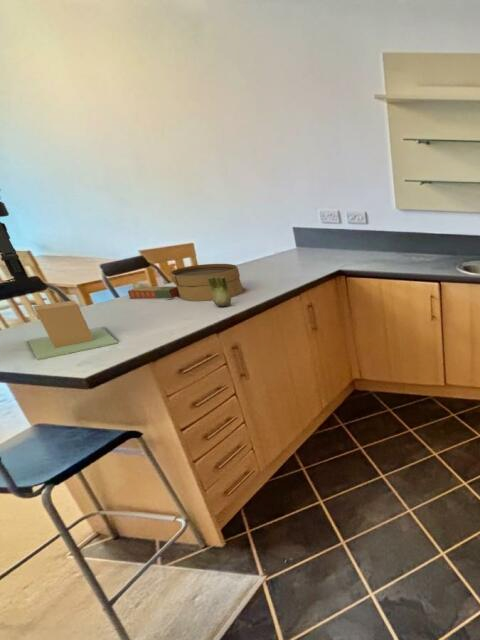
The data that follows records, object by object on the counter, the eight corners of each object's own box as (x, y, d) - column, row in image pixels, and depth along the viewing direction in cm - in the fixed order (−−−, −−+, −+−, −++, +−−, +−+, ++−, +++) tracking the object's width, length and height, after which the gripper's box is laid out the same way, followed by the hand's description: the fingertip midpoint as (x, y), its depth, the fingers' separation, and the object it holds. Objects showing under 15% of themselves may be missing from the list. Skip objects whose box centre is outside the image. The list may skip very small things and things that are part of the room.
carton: (143, 295, 184) (139, 286, 182) (182, 295, 186) (179, 285, 184) (130, 300, 176) (126, 290, 175) (171, 299, 179) (168, 290, 177)
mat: (29, 343, 131) (28, 341, 131) (104, 329, 144) (103, 328, 144) (37, 360, 120) (36, 358, 120) (118, 343, 133) (117, 341, 132)
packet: (52, 343, 130) (33, 306, 125) (90, 336, 137) (73, 300, 131) (55, 348, 127) (35, 309, 122) (94, 340, 133) (77, 303, 128)
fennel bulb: (234, 305, 173) (226, 276, 168) (226, 308, 169) (217, 278, 164) (221, 304, 174) (213, 275, 169) (212, 307, 170) (203, 278, 164)
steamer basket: (174, 304, 173) (165, 276, 168) (183, 290, 193) (174, 265, 187) (243, 297, 184) (236, 271, 179) (244, 285, 203) (238, 262, 198)
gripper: (7, 203, 108) (45, 284, 118) (-2, 198, 122) (33, 270, 132) (-38, 204, 103) (6, 288, 113) (-42, 198, 117) (-3, 274, 126)
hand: (21, 279), depth 122 cm, fingers open, 13 cm apart
